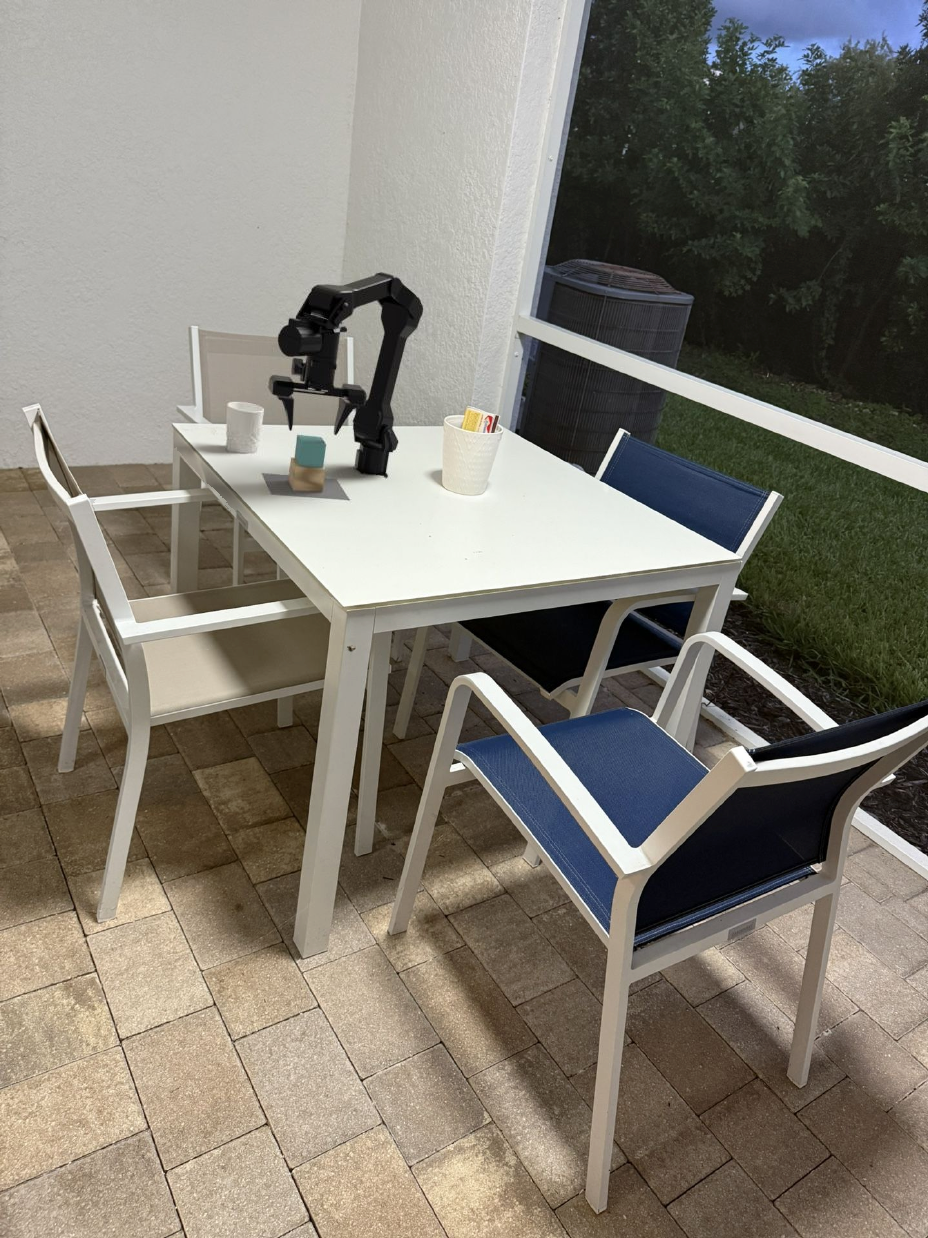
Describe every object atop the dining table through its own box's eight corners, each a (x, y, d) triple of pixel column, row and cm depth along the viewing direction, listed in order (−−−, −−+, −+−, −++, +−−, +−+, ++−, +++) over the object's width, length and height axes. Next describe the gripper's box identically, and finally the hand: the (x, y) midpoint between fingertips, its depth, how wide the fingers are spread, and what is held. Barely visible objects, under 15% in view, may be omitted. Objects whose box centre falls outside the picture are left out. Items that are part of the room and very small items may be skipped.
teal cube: (318, 460, 190) (321, 436, 188) (323, 467, 186) (326, 444, 184) (294, 458, 188) (297, 434, 186) (298, 465, 184) (301, 441, 182)
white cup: (220, 444, 205) (223, 400, 201) (255, 446, 209) (259, 403, 205) (227, 455, 199) (231, 410, 195) (263, 457, 203) (268, 413, 199)
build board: (336, 481, 197) (336, 478, 197) (349, 502, 187) (350, 499, 186) (261, 475, 191) (261, 472, 191) (271, 496, 181) (271, 494, 180)
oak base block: (316, 482, 192) (319, 459, 190) (322, 492, 187) (325, 469, 185) (288, 480, 190) (291, 457, 188) (293, 490, 185) (296, 466, 183)
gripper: (358, 351, 188) (348, 425, 195) (268, 339, 181) (260, 416, 188) (372, 364, 179) (361, 441, 186) (277, 351, 172) (268, 432, 179)
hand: (312, 432), depth 185 cm, fingers open, 9 cm apart
